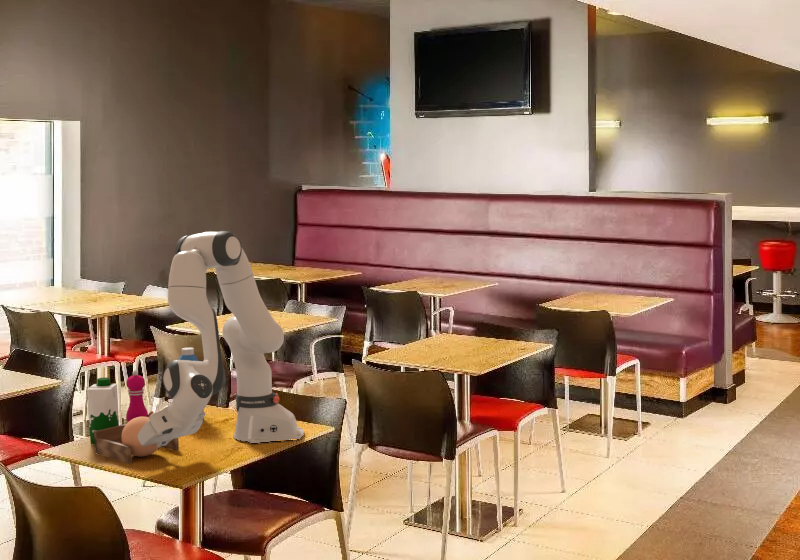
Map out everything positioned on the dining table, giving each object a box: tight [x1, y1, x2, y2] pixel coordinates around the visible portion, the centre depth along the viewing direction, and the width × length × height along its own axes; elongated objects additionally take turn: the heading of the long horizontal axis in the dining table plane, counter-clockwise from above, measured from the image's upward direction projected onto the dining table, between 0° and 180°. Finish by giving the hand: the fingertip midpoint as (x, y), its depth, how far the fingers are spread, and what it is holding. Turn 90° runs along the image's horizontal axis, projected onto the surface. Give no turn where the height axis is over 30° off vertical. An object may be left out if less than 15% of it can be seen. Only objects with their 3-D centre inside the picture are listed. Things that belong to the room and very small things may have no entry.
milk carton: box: [86, 377, 120, 445], centre depth 331 cm, size 9×9×20 cm
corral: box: [94, 423, 180, 464], centre depth 319 cm, size 17×18×7 cm
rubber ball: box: [121, 417, 160, 458], centre depth 314 cm, size 12×12×12 cm
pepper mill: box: [125, 370, 149, 423], centre depth 345 cm, size 7×7×20 cm
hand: (160, 444), depth 311 cm, fingers closed
